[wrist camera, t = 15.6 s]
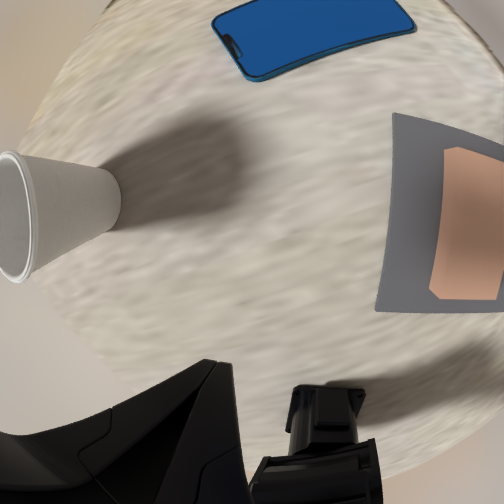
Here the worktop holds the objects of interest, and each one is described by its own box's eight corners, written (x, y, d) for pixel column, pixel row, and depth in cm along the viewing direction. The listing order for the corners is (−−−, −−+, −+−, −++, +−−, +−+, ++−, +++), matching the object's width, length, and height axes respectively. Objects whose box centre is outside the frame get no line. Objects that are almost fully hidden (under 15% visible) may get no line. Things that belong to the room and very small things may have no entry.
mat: (501, 310, 16) (503, 312, 15) (374, 309, 18) (375, 311, 18) (522, 156, 12) (525, 155, 12) (392, 113, 15) (393, 112, 14)
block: (427, 287, 17) (482, 289, 16) (439, 298, 15) (495, 299, 14) (443, 149, 14) (498, 166, 13) (457, 146, 12) (514, 166, 11)
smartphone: (420, 30, 12) (249, 84, 15) (416, 35, 13) (251, 89, 16) (367, -28, 11) (206, 20, 14) (365, -22, 12) (210, 25, 15)
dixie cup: (139, 247, 21) (45, 290, 11) (74, 248, 22) (-7, 279, 13) (132, 144, 19) (30, 132, 9) (67, 162, 20) (-19, 167, 11)
